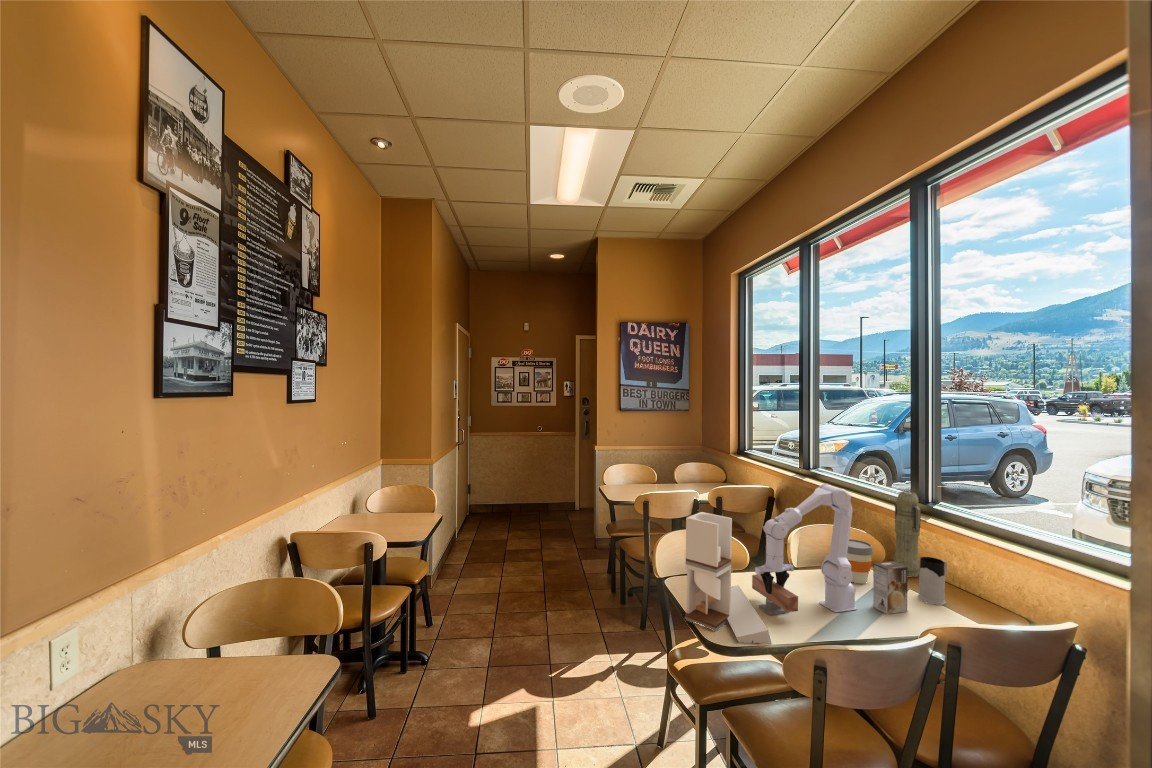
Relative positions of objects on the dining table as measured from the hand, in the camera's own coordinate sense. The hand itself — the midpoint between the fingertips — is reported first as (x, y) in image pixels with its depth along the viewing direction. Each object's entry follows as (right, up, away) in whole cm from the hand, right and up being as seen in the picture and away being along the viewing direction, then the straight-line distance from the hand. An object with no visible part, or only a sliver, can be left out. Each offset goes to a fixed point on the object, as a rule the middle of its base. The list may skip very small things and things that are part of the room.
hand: (774, 592), depth 176 cm
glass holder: (+66, -7, +12) cm, 68 cm away
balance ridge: (0, -6, 0) cm, 6 cm away
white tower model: (-26, -6, -8) cm, 28 cm away
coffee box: (+43, -7, +2) cm, 43 cm away
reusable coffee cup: (+45, -7, +29) cm, 54 cm away
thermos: (+71, -7, +36) cm, 80 cm away
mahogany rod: (0, -2, 0) cm, 2 cm away
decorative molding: (-14, -7, -5) cm, 17 cm away
